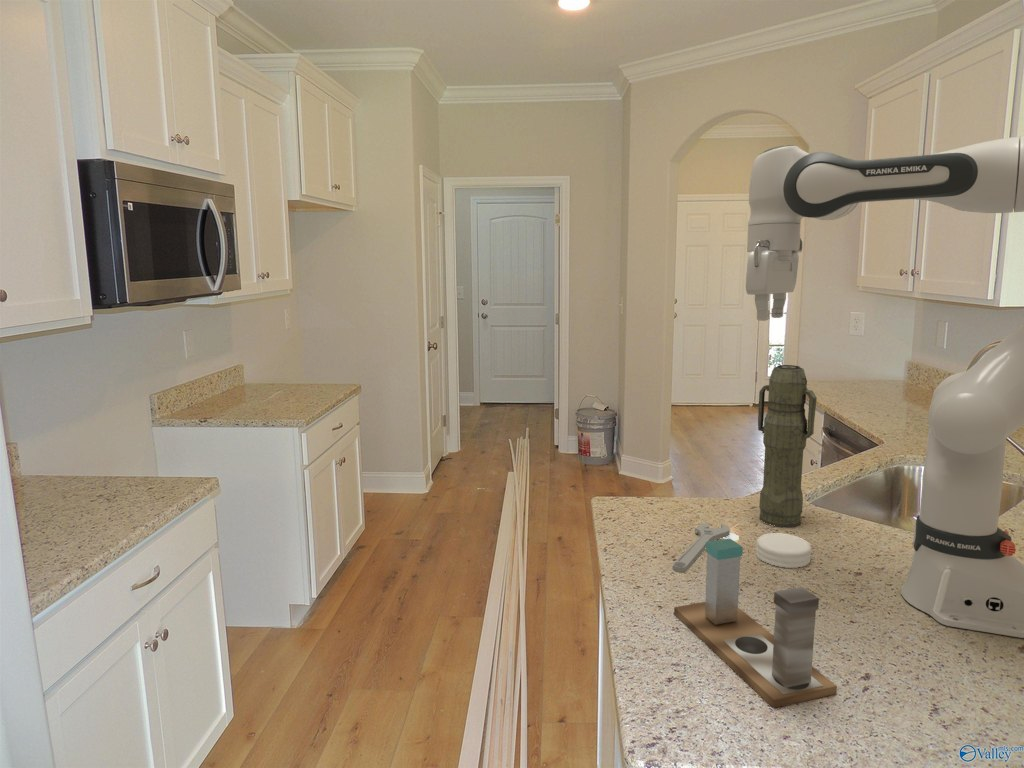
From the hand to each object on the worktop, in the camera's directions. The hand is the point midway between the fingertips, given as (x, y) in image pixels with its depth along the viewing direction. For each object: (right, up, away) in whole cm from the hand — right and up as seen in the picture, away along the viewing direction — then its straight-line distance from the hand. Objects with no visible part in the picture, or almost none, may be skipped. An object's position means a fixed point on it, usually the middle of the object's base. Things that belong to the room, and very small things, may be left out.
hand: (770, 319), depth 127 cm
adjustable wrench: (-9, -46, +16) cm, 49 cm away
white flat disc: (+6, -47, +11) cm, 48 cm away
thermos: (+13, -43, +30) cm, 54 cm away
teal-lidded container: (-14, -49, -15) cm, 53 cm away
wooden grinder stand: (-12, -52, -21) cm, 58 cm away
